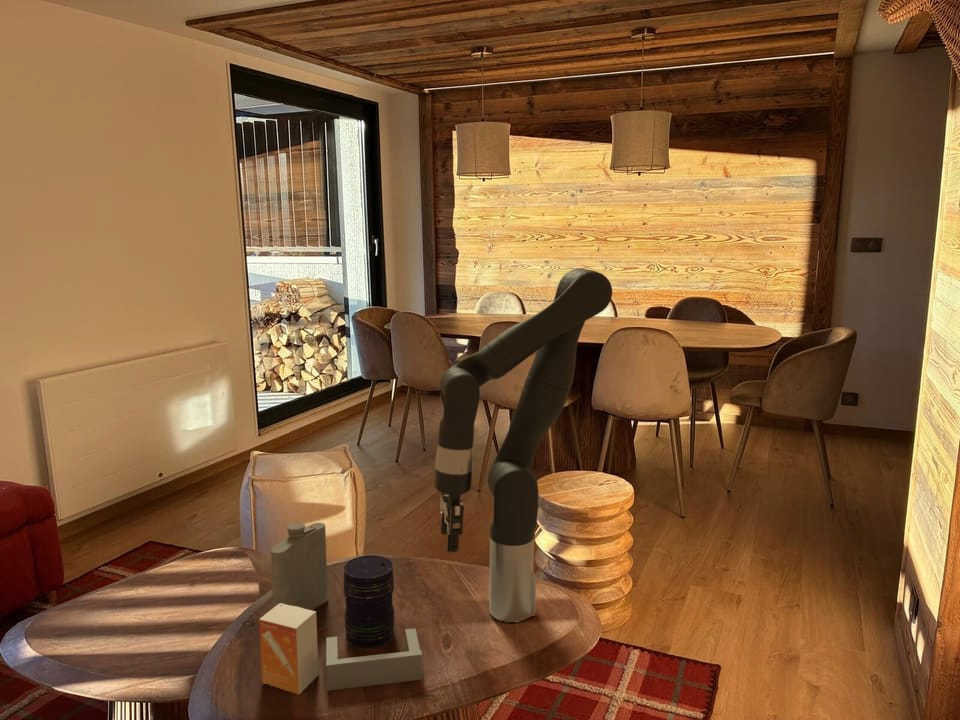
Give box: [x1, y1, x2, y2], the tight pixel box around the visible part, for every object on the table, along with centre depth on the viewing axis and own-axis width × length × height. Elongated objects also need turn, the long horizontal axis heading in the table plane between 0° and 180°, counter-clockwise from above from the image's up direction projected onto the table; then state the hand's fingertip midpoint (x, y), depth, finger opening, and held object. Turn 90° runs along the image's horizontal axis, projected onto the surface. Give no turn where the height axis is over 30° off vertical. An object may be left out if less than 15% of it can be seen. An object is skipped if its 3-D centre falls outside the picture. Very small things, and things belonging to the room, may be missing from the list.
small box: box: [258, 603, 319, 695], centre depth 131 cm, size 8×6×13 cm
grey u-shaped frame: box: [325, 628, 423, 692], centre depth 136 cm, size 17×10×5 cm, turn 102°
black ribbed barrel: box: [343, 554, 396, 650], centre depth 145 cm, size 10×10×15 cm
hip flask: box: [270, 521, 329, 611], centre depth 153 cm, size 16×4×20 cm, turn 156°
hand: (448, 542), depth 150 cm, fingers open, 8 cm apart
